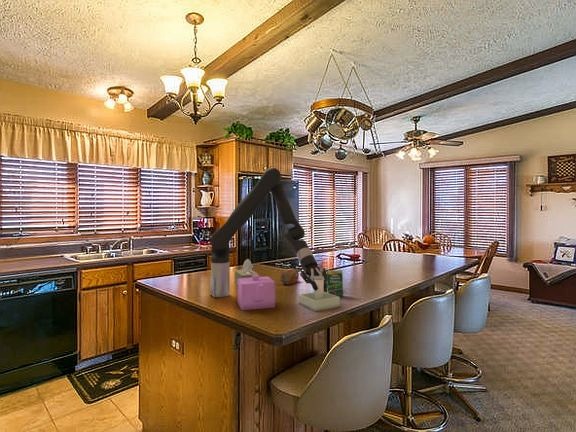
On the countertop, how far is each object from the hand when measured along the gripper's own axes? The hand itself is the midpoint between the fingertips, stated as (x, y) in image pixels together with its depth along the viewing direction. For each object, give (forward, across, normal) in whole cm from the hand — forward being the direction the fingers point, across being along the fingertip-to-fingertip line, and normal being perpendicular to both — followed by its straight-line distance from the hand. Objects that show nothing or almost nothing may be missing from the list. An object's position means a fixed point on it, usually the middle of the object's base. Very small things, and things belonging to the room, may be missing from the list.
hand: (321, 288), depth 158 cm
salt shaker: (+2, 0, +5) cm, 5 cm away
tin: (-30, +13, +42) cm, 53 cm away
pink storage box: (-6, -25, +17) cm, 31 cm away
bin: (+4, 0, +7) cm, 8 cm away
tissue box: (-35, -12, +47) cm, 60 cm away
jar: (-11, +21, +23) cm, 33 cm away
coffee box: (-2, +17, +14) cm, 22 cm away
